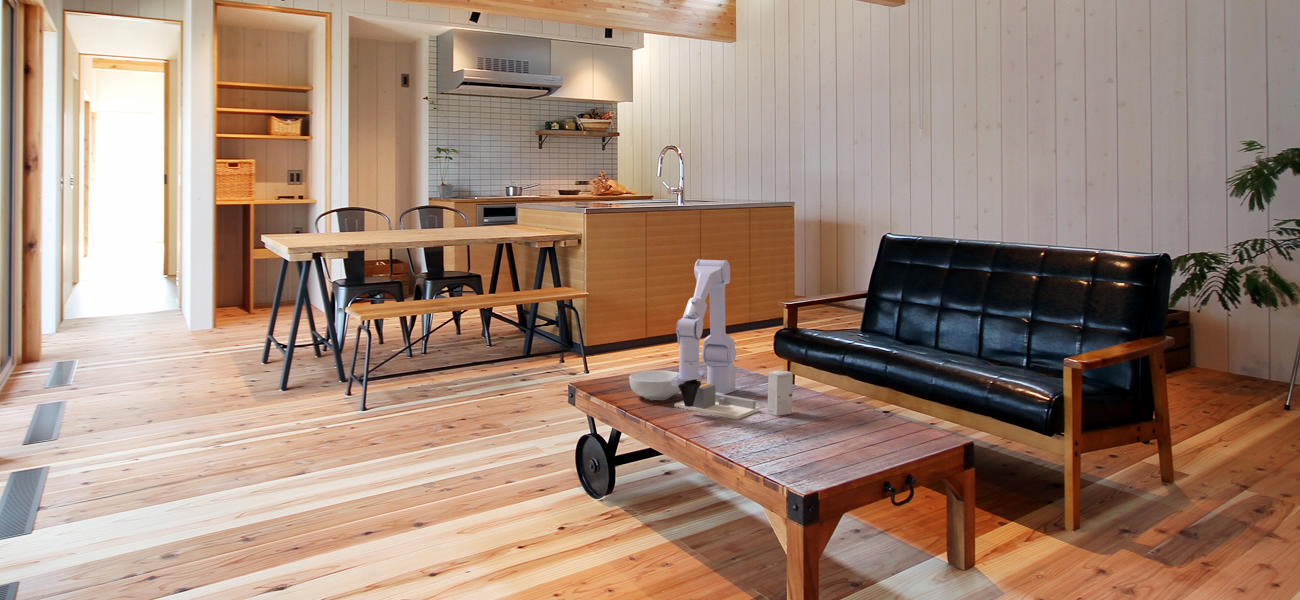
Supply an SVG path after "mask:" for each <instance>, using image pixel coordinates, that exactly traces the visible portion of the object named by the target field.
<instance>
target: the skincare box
mask: <svg viewBox="0 0 1300 600" xmlns="http://www.w3.org/2000/svg"><path fill="white" fill-rule="evenodd" d="M793 375H794V374H793V372H792V371H788V370H783V369H782V370H774V371H770V372H769V371H768V379H767V380H768V381H767V413H768V414H769V415H771V416H775V417H778V416H784V415H788V414H789V415H790V414H792V413H793V383H794V382H793V381H794V377H793Z"/></svg>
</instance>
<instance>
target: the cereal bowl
mask: <svg viewBox="0 0 1300 600" xmlns="http://www.w3.org/2000/svg"><path fill="white" fill-rule="evenodd" d="M676 373H678V372H677V371H670V370H642V371H639V372H638V371H637V372H634V373H631V374H630V375H629V380H628V381H629V385H630V388H631V390H632V391H633V392H634V393H635V394H636V395H637V396H641V397H642V398H643V399H645V400H647V399H649V400H648V401H653V400H661V401H665V400H666V399H667V400H669V399H670V398H671V397H673V396H676V395H677V394H679V393H681V391H680V389H679V387H678V386H672V385H671V379H672V378H674V377H676V376H677V375H676ZM668 398H669V399H668Z"/></svg>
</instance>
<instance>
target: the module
mask: <svg viewBox="0 0 1300 600" xmlns="http://www.w3.org/2000/svg"><path fill="white" fill-rule="evenodd" d="M715 386H716V385H712V384H709V383H707V382H701V385H700V387H699V389H698V391H697V393H696V396H695V400H694V404H693V406H692V407H696V408H701V409H705V408H708V407H711V406H714V405H715Z"/></svg>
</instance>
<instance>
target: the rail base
mask: <svg viewBox="0 0 1300 600" xmlns="http://www.w3.org/2000/svg"><path fill="white" fill-rule="evenodd" d="M756 402H757V400H755V399H749V398H743V397H738V396H732V395H727V394H725V395H723V394H717V393H715V405H714V406H711V407H708V408H705V409H701V408H696V407H688V406H685V404H684V400H681V401H679V402H676V403H674V407H675V408H678V407H679V408H678V409H683V408H684V410H687V409H688V410H689V411H692V410H693V412H698V413H702V414H703V413H704V414H709V415H711V416H712V415H713V416H717V417H723V418H727V419H733V420H739V419H742V418H744V417H746V416H749V415H752V414H754V413H757V412H759V411H760V407H759V406H756V405H757V403H756Z"/></svg>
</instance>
